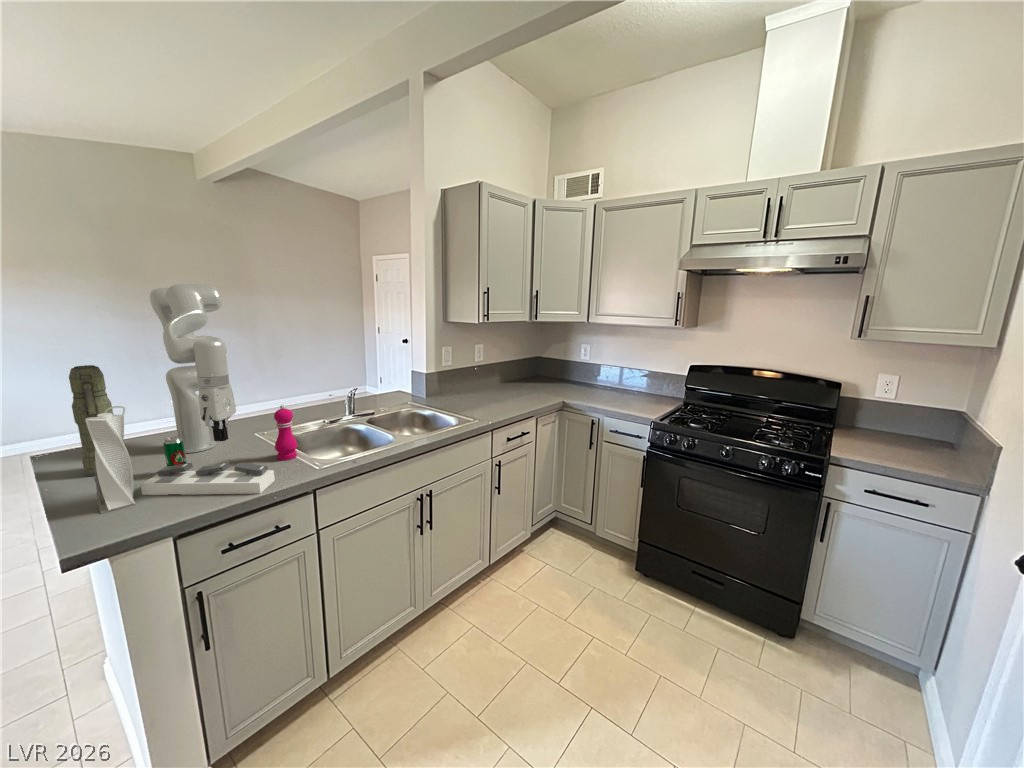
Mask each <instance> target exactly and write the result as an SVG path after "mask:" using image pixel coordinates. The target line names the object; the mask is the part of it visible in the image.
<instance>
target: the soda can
mask: <svg viewBox="0 0 1024 768" xmlns="http://www.w3.org/2000/svg"><path fill="white" fill-rule="evenodd" d="M162 444H163V449H164V450H163V451H164V456H165V464H166V467H168V466H175V465H181V464H187V456H186V453H185V448H184V441H183V439H182V438H181V437H180V436H178V435H177V436H169V437H167V438H165V439H164V441H163V443H162Z"/></svg>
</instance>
